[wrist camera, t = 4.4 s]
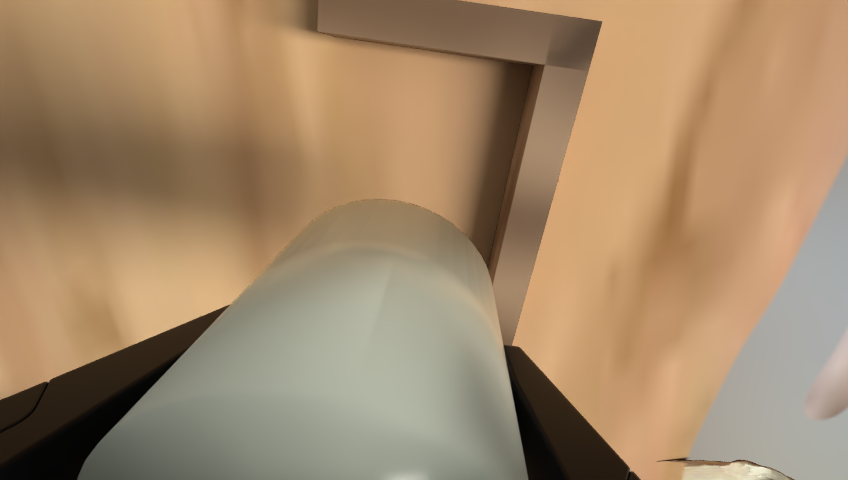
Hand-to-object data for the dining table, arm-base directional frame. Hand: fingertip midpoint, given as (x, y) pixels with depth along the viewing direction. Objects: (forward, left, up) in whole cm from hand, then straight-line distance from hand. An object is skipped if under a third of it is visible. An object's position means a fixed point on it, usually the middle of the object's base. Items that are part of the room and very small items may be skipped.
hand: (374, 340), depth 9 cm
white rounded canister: (0, 0, -2) cm, 2 cm away
